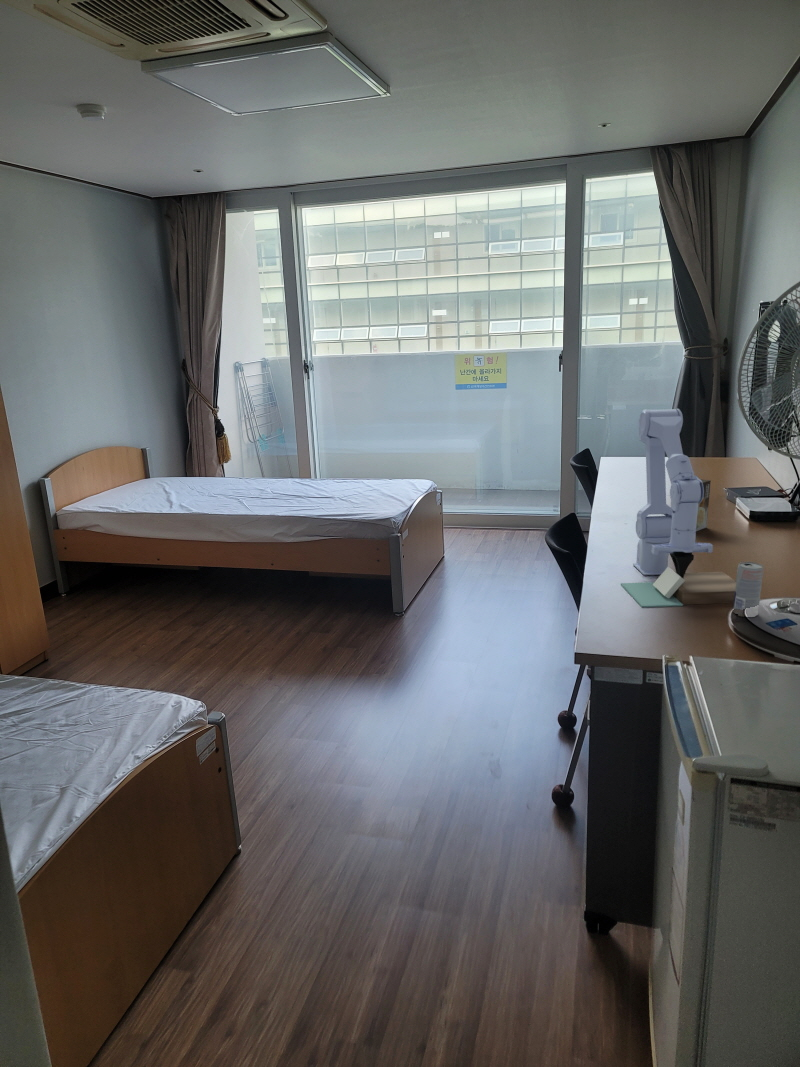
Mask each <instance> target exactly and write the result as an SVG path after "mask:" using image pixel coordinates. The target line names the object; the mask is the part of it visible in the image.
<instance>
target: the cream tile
mask: <svg viewBox="0 0 800 1067" xmlns="http://www.w3.org/2000/svg"><path fill="white" fill-rule="evenodd" d="M684 581H685V580H684V579H683V578H682V577H681V576H679V575H678V574H677V573H676V570H673V569H672V568H671V567H670V566H668V567H667V568H666V570H665V571H664V572H663V573H662V574H661V575H659V576H658V578H657V579H656V580H655V581H653V582H654V583H653V585H654V586H655V587H656V588H657V589H658V590H659V591H660V592H661V593H662V594H663V595H664V596H665V597H667V598H668V599H669V598H670V597H671V596H672V595H673V594H674V593H675V591H676V590H677V589H678V588H679V587H680V586H681V585H682V583H683V582H684Z"/></svg>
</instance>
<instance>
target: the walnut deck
mask: <svg viewBox="0 0 800 1067" xmlns="http://www.w3.org/2000/svg"><path fill="white" fill-rule="evenodd" d="M683 579H684V580H685V581H684V582H683V583H682V585H681V586H680V587H679V588H678V589H677V590H676V591H675V593H674V594H673V596H674V597H675V598H676V599H678V600H679V601H680V602H681V603H682V604H683V605H707V604H734V596H735V587H736V580H735V579H733V578H732V577H731V576H730V575H728V574H727V573H725V572H724V571H710V572H709V571H708V572H706V571H705V572H685V574H684V578H683Z"/></svg>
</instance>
